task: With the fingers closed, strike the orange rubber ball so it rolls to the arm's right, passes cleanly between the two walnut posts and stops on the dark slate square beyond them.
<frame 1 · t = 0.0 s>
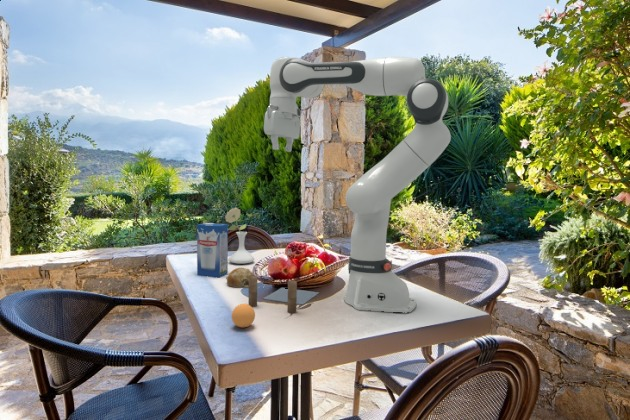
hand: (282, 150, 137), 48 cm above the table, tool pointing down, fingers open, 8 cm apart
ball: (243, 315, 106), on the table
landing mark: (291, 295, 134), on the table
milk carton: (212, 275, 160), on the table
flower in vase: (239, 263, 182), on the table
bread roll: (240, 285, 147), on the table
post far: (252, 305, 124), on the table
post near: (291, 311, 119), on the table
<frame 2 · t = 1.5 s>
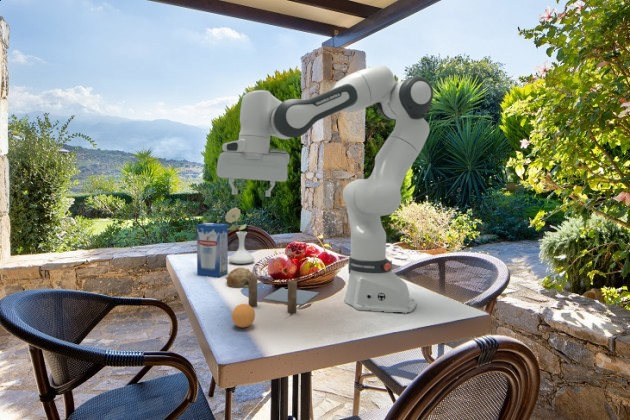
hand: (251, 195, 118), 34 cm above the table, tool pointing down, fingers open, 8 cm apart
nothing on the table moved.
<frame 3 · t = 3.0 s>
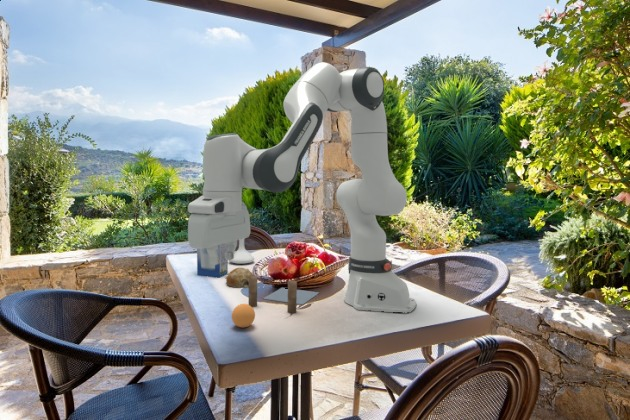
hand: (222, 261, 96), 19 cm above the table, tool pointing down, fingers open, 4 cm apart
nothing on the table moved.
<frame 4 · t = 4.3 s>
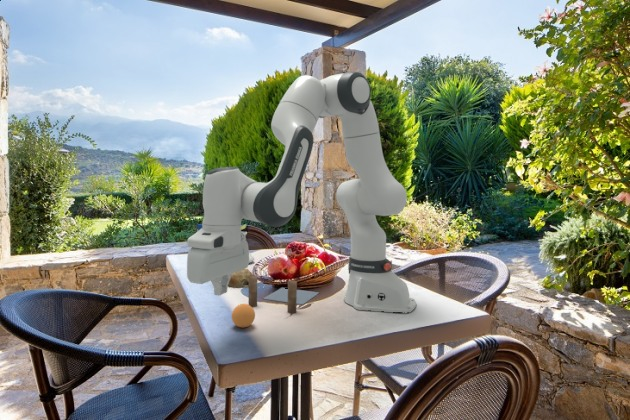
hand: (220, 293, 96), 11 cm above the table, tool pointing down, fingers closed
nothing on the table moved.
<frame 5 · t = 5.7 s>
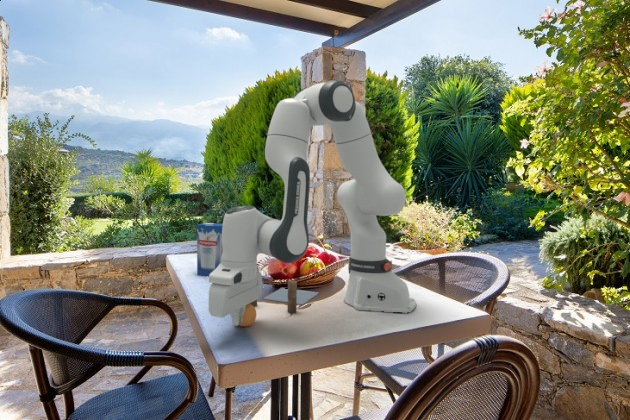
hand: (237, 324, 103), 2 cm above the table, tool pointing down, fingers closed
ball: (244, 314, 107), on the table, touching gripper
everything else where it was.
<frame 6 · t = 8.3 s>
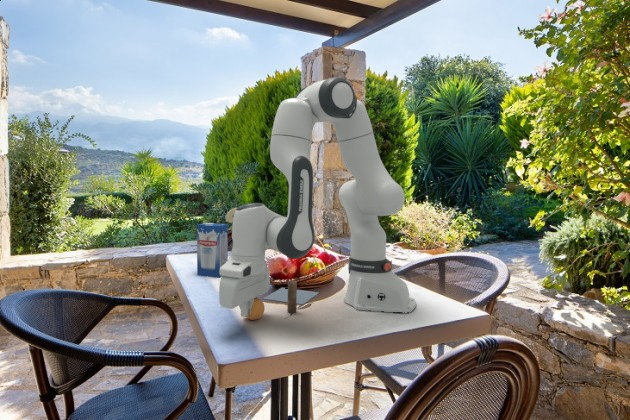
hand: (245, 315, 108), 2 cm above the table, tool pointing down, fingers closed
ball: (253, 308, 112), on the table, touching gripper
everything else where it was.
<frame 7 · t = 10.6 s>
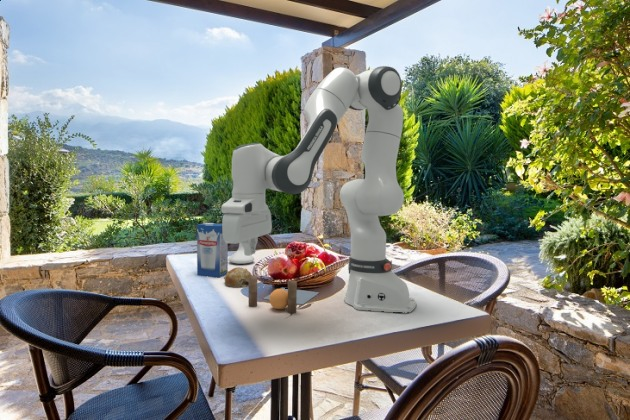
hand: (249, 254, 111), 18 cm above the table, tool pointing down, fingers closed
ball: (279, 298, 121), on the table
everything else where it was.
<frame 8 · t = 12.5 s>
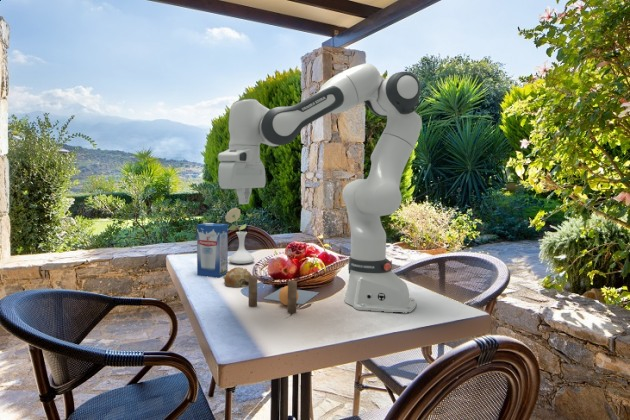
hand: (243, 204, 119), 31 cm above the table, tool pointing down, fingers closed
ball: (288, 295, 124), on the table
at the end: ball 9.5 cm from the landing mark (horizontally); ball never touched post far; ball never touched post near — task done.
